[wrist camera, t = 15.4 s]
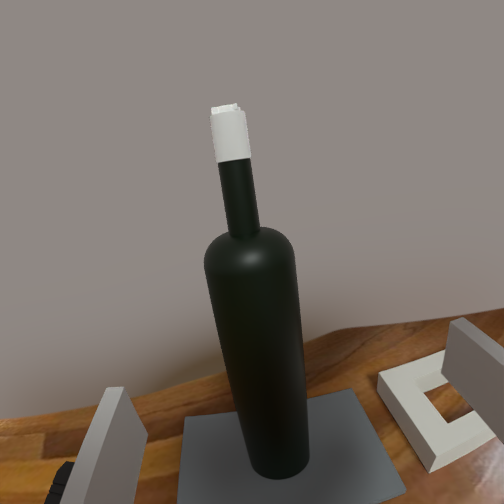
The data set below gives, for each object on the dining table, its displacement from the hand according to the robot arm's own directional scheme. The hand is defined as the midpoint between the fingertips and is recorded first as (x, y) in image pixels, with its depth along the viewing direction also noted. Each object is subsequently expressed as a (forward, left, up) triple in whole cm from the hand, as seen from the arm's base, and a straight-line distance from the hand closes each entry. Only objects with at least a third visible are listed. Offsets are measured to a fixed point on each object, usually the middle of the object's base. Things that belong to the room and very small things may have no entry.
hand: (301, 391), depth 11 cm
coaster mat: (+1, -10, -19) cm, 22 cm away
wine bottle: (+1, -10, -18) cm, 21 cm away
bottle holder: (-19, -10, -19) cm, 29 cm away
